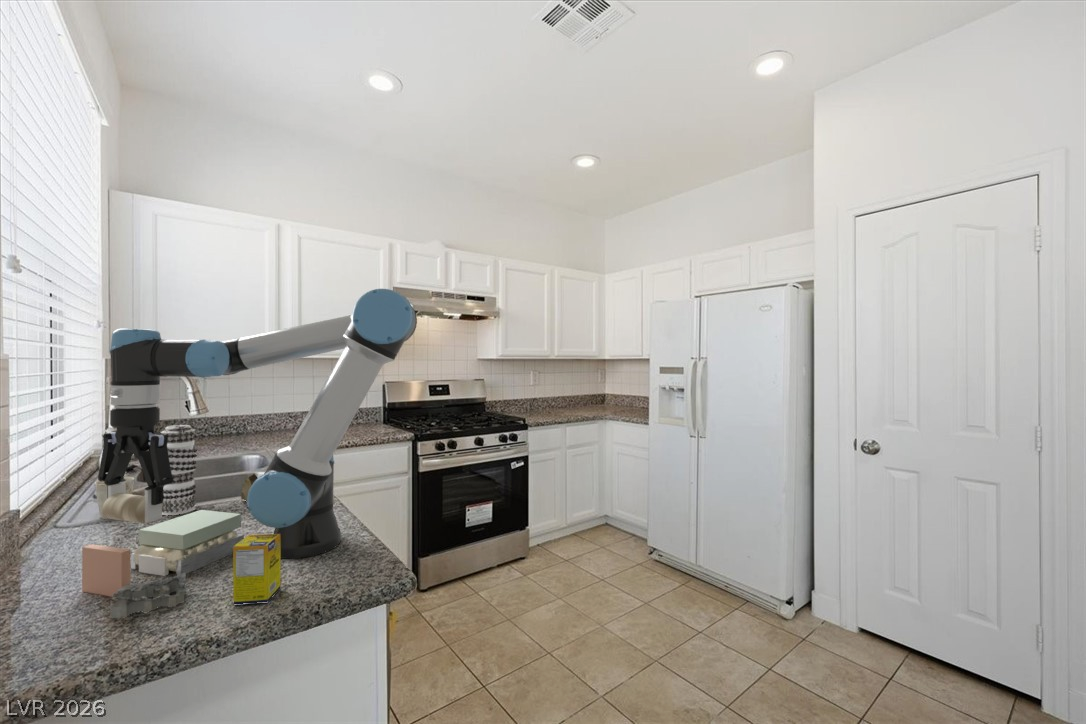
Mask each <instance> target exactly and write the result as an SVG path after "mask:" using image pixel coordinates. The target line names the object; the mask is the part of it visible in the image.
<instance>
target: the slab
mask: <svg viewBox="0 0 1086 724" xmlns="http://www.w3.org/2000/svg"><path fill="white" fill-rule="evenodd" d="M241 527H242V514H241V513H235V512H225V511H217V510H207V509H206V510H205V509H200V510H197V511H192V512H189V513H186V514H184V515H183V514H182V515H181V516H177V517H175V518H174V517H173V518H172V519H169V520H165V521H162V522H158V523H156V524H155V523H154V524H152V525H150V526H147V527H144V528H141V529H139V530H138V545H139V544H140V545H141V544H144V545H152V546H159V547H167V548H174V549H182V550H183V549H186V548H188V547H191V546H193V545H196V544H199V543H201V542H204V541H206V540H209V539H211V538H214V537H216V536H219V535H221V534H224V533H227V532H229V531H232V530H233V531H235V530H236V529H237V530H238V528H241Z"/></svg>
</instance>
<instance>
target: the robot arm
mask: <svg viewBox="0 0 1086 724" xmlns="http://www.w3.org/2000/svg"><path fill="white" fill-rule="evenodd" d="M417 317H418V316H417V313H416V310H415V309H414V307H413V306H412V305H411V302H410V301H409V300H408V298H406V296H404V295H402V294H401V293H400V292H398V291H394V290H393V289H389V288H375V289H371V290H369V291H367V292H366V293H363V294H362V295H361V296H360V297H359V298H358V300H357V301H356V302H355V304H354V307H353V310H352V313H351V314H350V315H345V316H341V317H335V318H330V319H326V320H322V321H321V320H320V321H316V322H312V323H307V324H302V325H297V326H293V327H292V326H291V327H287V328H283V329H277V330H273V331H272V330H271V331H267V332H263V333H258V334H254V335H247V336H243V337H239V338H234V339H228V340H223V341H219V340H211V339H162V337H161V332H160V331H159V330H156V329H147V328H146V329H143V328H117V329H115V330H113V332H112V334H111V340H110V341H111V343H110V349H109V354H110V405H111V406H114V407H112V408H111V409H110V410H109V411H110V413H109V425H110V427H112V428H115V429H116V431H113V432H106V433H103V436H102V439H103V448H102V454H101V459H100V465H99V470H98V475H97V479H98V481H104V482H105V484H106V485H107V499H108V498H109V497H110V496H112V495H114V494H118V493H123V494H126V483H119V482H123V481H126V480H125V479H124V478H123V477H125V474H126V471H127V469H128V468H129V464H130V462H131V459H132V456H133V455H134V458H135V459H138V462H139V465H140V467H141V470H142V473H143V476H144V479H145V481H146V484H147V486H146V487H145V488H144V496H145V523H144V524H150V523H149V522H151V523H153V522H155V521H158V520H162V518H163V517H162V502H163V487H164V486H165V485H168V484H171V483H172V482H173V479H172V473H171V467H170V461H169V455H168V449H167V441H168V436H167V435H166V434H165V435H162V434H156V431H155V426H156V425H158V424H160V422H161V421H160V420H161V419H160V417H161V415H160V414H161V411H160V410H161V409H160V407H159V406H158V404H160V403H161V377H163V378H164V377H165V378H166V377H183V378H184V377H185V378H187V377H188V378H193V377H194V378H198V377H199V378H212V377H221V376H230V375H235V374H238V373H241V372H244V371H248V370H251V369H256V368H261V367H265V366H266V367H267V366H271V365H275V364H280V363H283V362H289V361H293V360H297V359H303V358H307V357H312V356H317V355H321V354H325V353H326V354H327V353H330V352H334V351H335V352H336V351H340V350H342V353H341V354H340V356H339V358H338V359H337V361H336V363H335V365H334V366H333V367H332V368H333V369H332V370H331V372H330V373H329V375H328V377H327V379H325V380H326V381H325V382H324V384H323V385H322V387H321V389H320V391H319V393H318V394H317V396H316V399H315V400H314V401H313V403H312V405H311V407H310V408H309V411H308V413H306V416H305V417H304V418H303V421H302V423H301V425H299V428H298V430H297V431H296V433H295V434H294V436H293V438H292V440H291V441H290V444H289V445H286V446H283V447H281V448H279V449H278V450H277V451H276V452H275V454H274V456H273V457H272V460H271V461H270V463H269V464H268V466H267V468H266V470H265V471H264V473H263V474H262V475H259V477H258V478H257V479H256V481H254V483H253V484H252V486H251V488H250V489H249V492H248V496H247V502H246V505H247V507H248V510H249V512H250V514H251V516H252V517H253V519H255V521H257V522H258V523H260V524H262V525H264V526H265V527H266V526H267V527H269V528H274V531H273V534H280V543H281V558H282V559H283V558H284V559H298V558H299V559H301V558H307V557H313V556H317V555H321V554H323V552H324V553H326V552H325V551H327V552H329V551H331V550H333V549H335V548H336V547H338V546H339V545H340V544H339V543H341V542H342V532H341V529H340V527H339V524H338V520H337V518H336V515H335V511H334V480H335V479H334V477H335V476H334V475H335V474H334V473H335V471H334V468H335V460H334V453H335V452H336V450H337V449H338V447H339V444H340V442H341V441H342V439H343V438H344V436H345V434H346V433H347V430H348V429H349V427H350V425H351V423H352V421H353V419H354V418H355V416H356V415H357V413H358V410H359V409H360V407H361V405H362V403H363V402H364V400H365V398H366V397H367V395H368V393H369V391H370V389H371V387H372V386H373V384H374V382H375V380H376V378H377V377H378V375H379V373H380V372H381V370H382V368H383V366H384V365H385V364H388V363H391V362H394V361H395V359H396V357H397V356H398V354H399V352H400V350H401V349H402V347H403V345H404V343H406V341H408V340H409V339H410V338H411V337H412V336H413V335H414V333H415V331H416V328H417V324H418V318H417ZM164 478H165V479H164ZM152 521H153V522H152ZM340 541H341V542H340ZM338 544H339V545H338ZM337 545H338V546H337ZM335 546H336V547H335ZM334 547H335V548H334ZM332 548H333V549H332ZM330 549H331V550H330ZM328 550H329V551H328ZM320 553H321V554H320ZM312 555H313V556H312Z"/></svg>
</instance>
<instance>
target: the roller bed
mask: <svg viewBox="0 0 1086 724" xmlns="http://www.w3.org/2000/svg"><path fill="white" fill-rule="evenodd" d="M244 538H245V534H244V533H243V534H242V533H239V534H238V533H237V532H236V531H235V530H232V531H229V532H227V533H224V534H221V535H219V536H216V537H214V538H211V539H209V540H206V541H204V542H201V543H199V544H196V545H193V546H191V547H188V548H186V549H183V550H182V549H174V548H167V547H159V546H152V545H144V544H140V545H139V546H138V547H137V548H136V550H135V551H134V552H132V553H131V552H130V570H131V569H132V570H137V569H139V555H141V554H143V555H150V556H157V557H164V558H167V561H166V566H167V568H168V569H169V572H175V573H176V576H178V575H180V574H182V573H185V574H186V575H187V574H189V573H191V572H193V571H196V570H197V569H200V568H203V567H205V566H207V565H209V564H211V563H213V562H217V561H218V560H221V559H223V558H225V557H227V556H229V555H231V554H232V555H233V547H234V546H235V545H236V544H237V543H239V542H240V541H242V540H243V539H244Z"/></svg>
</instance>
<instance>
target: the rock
mask: <svg viewBox="0 0 1086 724" xmlns="http://www.w3.org/2000/svg"><path fill="white" fill-rule="evenodd" d="M257 478H259V477H258V476H257V474H256V473H255V472H253V473H252V474H251V475H249V476H248V477H246V479H245V480H244V482H243V483H242V486H241V489H240V490H241V491H240V499H244V500H246V501H247V496H248V492H249V489H250V488H251V486H252V484H253V483H254V481H256V479H257Z"/></svg>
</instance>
